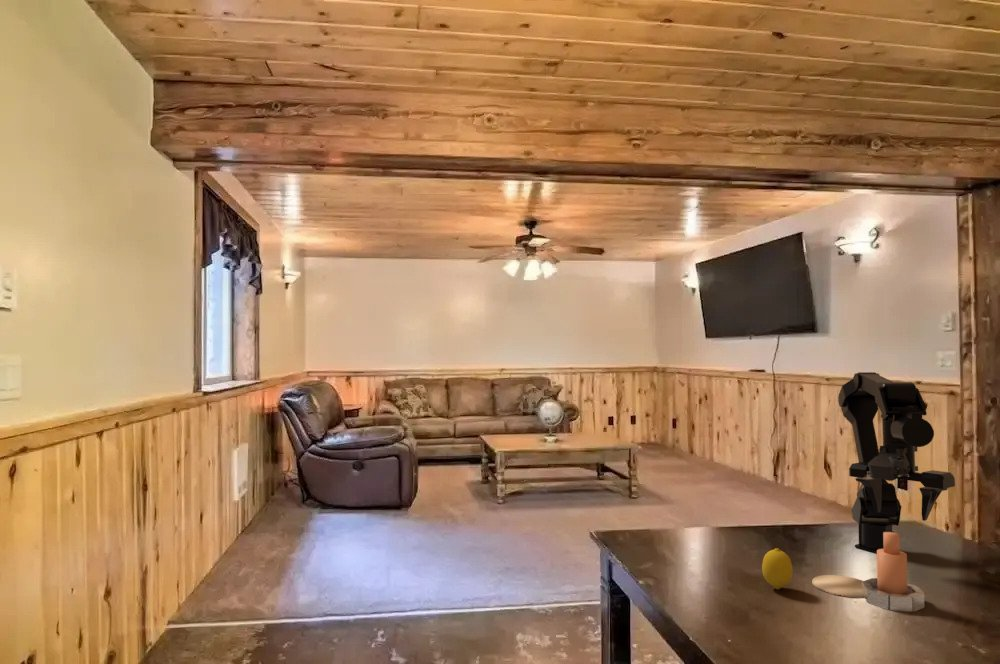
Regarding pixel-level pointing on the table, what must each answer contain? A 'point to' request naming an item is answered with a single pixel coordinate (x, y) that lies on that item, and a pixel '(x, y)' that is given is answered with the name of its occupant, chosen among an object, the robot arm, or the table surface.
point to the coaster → (839, 585)
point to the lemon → (777, 568)
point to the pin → (892, 566)
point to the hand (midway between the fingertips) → (900, 516)
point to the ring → (893, 597)
